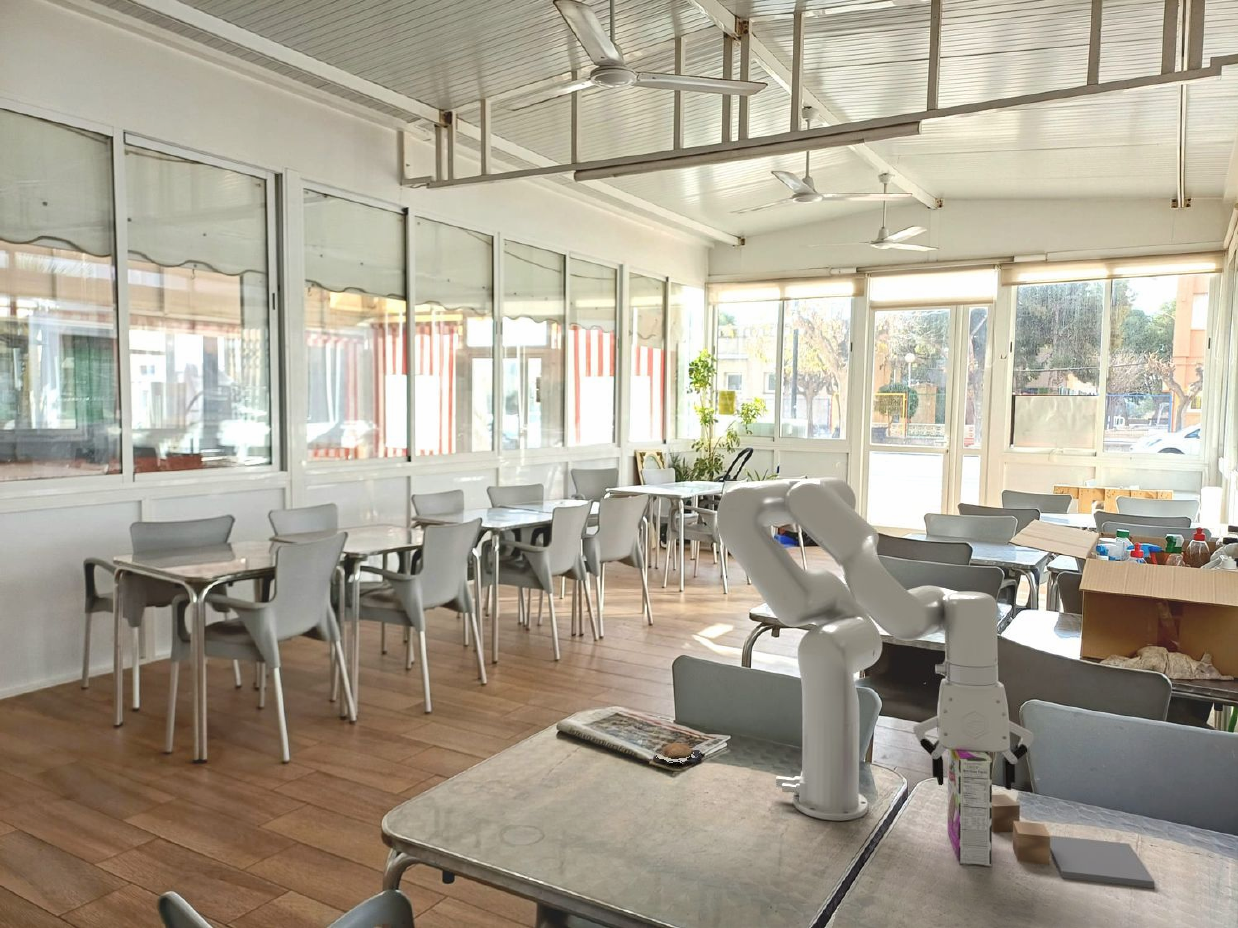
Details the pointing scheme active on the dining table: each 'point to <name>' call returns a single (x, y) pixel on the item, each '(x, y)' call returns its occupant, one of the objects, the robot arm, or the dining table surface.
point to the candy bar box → (970, 806)
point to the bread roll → (677, 757)
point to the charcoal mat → (1098, 861)
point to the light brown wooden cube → (1031, 842)
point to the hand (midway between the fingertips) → (973, 784)
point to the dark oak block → (1004, 813)
